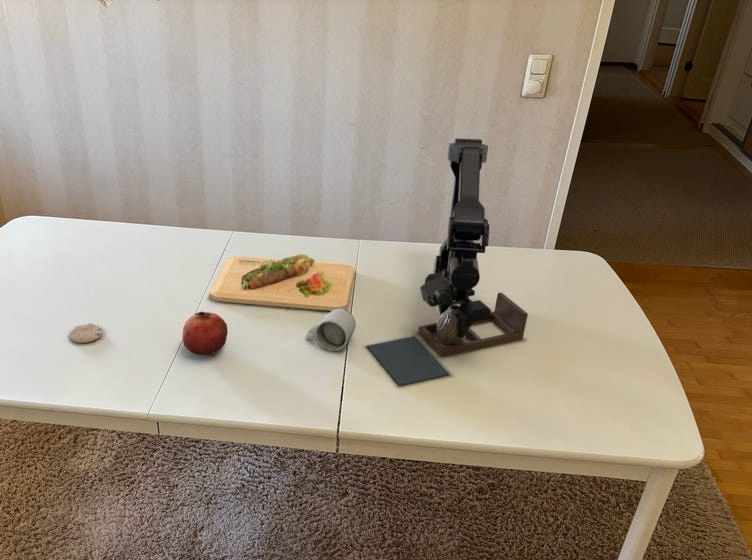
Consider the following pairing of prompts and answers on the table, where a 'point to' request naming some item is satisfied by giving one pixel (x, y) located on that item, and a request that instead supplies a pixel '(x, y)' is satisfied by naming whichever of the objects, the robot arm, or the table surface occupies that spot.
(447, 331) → the vase
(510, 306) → the cup stand
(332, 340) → the ceramic mug
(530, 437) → the table surface
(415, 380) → the mat
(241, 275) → the cutting board
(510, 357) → the table surface
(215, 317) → the fruit
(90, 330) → the flatbread
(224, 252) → the table surface
